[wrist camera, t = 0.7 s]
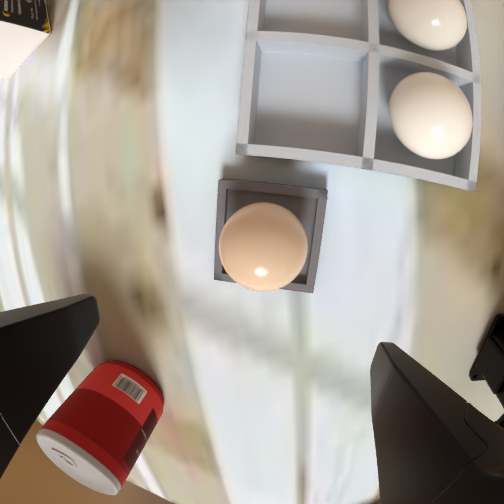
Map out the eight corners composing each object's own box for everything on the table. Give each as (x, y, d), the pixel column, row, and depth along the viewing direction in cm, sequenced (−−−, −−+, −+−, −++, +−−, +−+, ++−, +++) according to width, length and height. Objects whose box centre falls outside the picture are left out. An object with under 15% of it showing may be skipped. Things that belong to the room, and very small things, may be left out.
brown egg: (312, 201, 18) (314, 216, 13) (302, 276, 19) (300, 313, 15) (232, 193, 18) (209, 205, 14) (228, 267, 20) (206, 299, 15)
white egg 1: (444, 10, 12) (473, -19, 7) (449, 68, 13) (485, 48, 9) (378, -10, 13) (394, -47, 8) (381, 49, 14) (402, 19, 10)
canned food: (87, 353, 26) (20, 422, 16) (153, 362, 24) (89, 454, 14) (112, 408, 28) (63, 476, 18) (175, 420, 27) (132, 505, 16)
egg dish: (326, 189, 18) (327, 191, 17) (312, 287, 20) (312, 293, 19) (222, 178, 19) (218, 179, 18) (217, 274, 21) (214, 279, 20)
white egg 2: (450, 93, 14) (488, 79, 9) (446, 165, 15) (485, 170, 11) (380, 74, 15) (404, 50, 10) (376, 150, 16) (400, 148, 12)
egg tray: (441, -52, 10) (451, -67, 7) (455, 187, 16) (474, 192, 14) (266, -82, 12) (261, -101, 9) (244, 154, 18) (235, 154, 16)
